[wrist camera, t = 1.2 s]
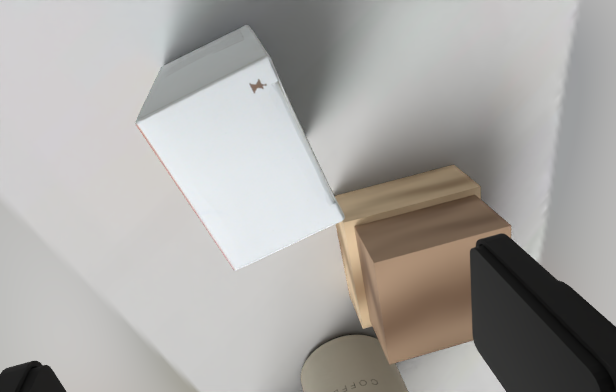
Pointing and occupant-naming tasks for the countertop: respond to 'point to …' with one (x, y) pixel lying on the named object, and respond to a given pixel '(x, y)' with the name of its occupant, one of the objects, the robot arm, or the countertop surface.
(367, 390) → the travel mug
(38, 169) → the countertop surface
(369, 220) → the oak slab
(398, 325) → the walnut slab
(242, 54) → the small box
